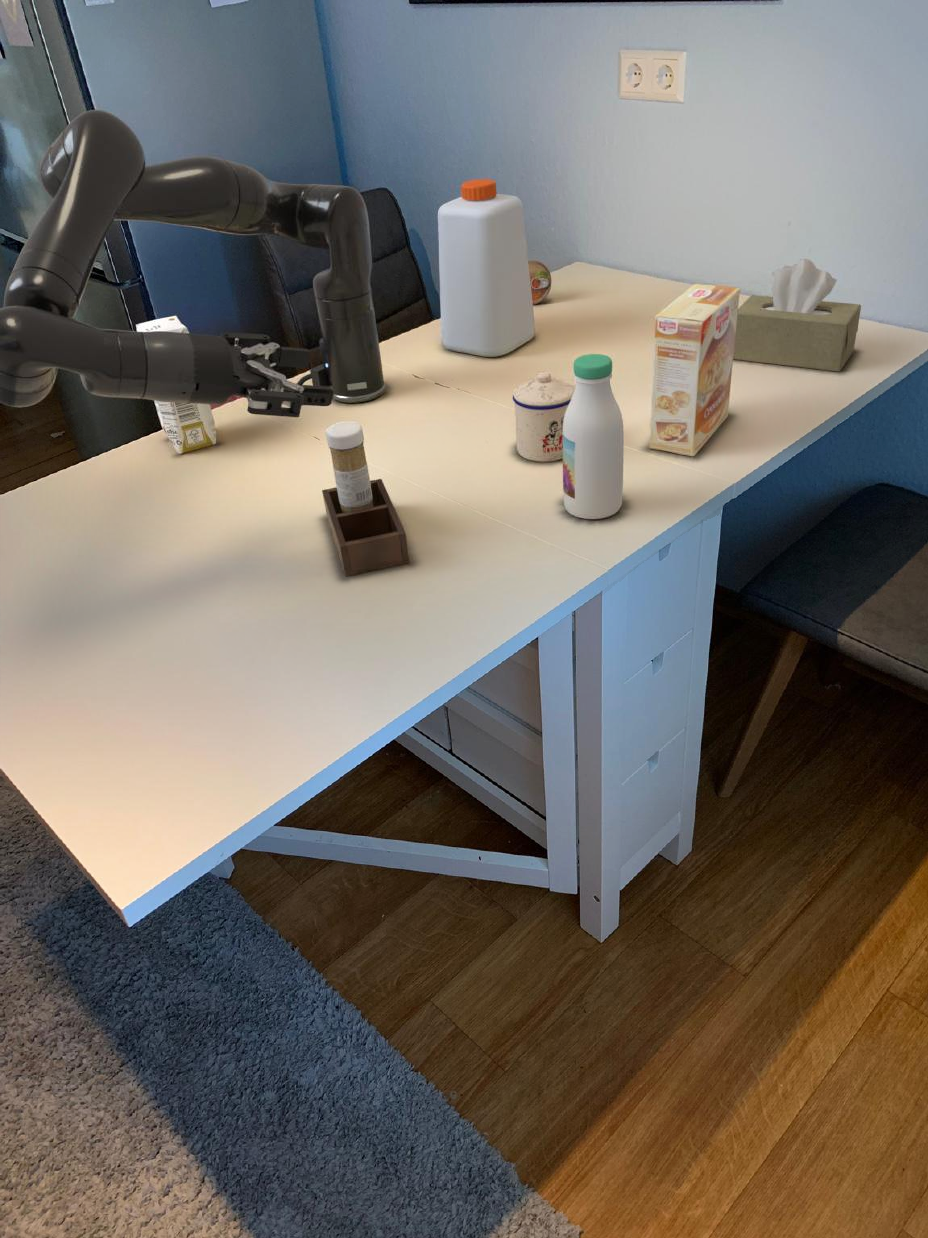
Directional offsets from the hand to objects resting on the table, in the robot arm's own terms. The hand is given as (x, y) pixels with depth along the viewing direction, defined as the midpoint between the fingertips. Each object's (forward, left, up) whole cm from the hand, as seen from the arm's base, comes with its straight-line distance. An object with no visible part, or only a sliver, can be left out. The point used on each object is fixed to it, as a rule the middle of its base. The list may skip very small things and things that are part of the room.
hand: (319, 377), depth 111 cm
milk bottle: (+24, +22, -21) cm, 39 cm away
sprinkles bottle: (+1, +2, -21) cm, 21 cm away
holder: (+4, 0, -21) cm, 21 cm away
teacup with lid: (+9, +34, -21) cm, 41 cm away
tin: (-36, +85, -21) cm, 95 cm away
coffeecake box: (+24, +48, -21) cm, 58 cm away
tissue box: (+24, +83, -21) cm, 89 cm away
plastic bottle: (-27, +64, -21) cm, 73 cm away
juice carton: (-42, +6, -21) cm, 47 cm away
